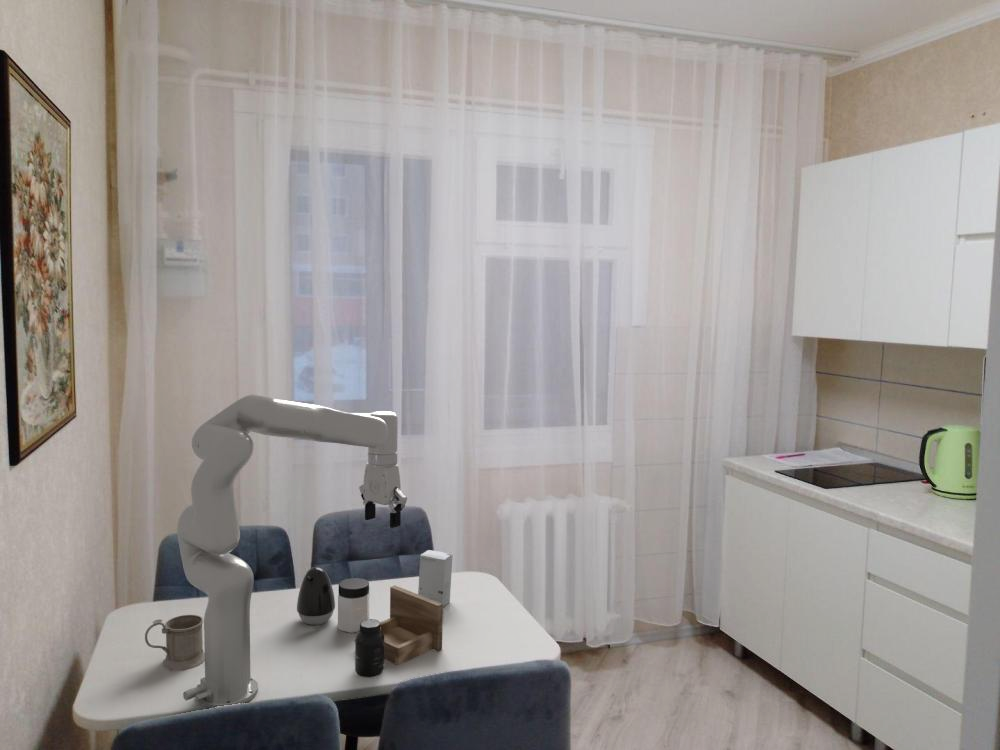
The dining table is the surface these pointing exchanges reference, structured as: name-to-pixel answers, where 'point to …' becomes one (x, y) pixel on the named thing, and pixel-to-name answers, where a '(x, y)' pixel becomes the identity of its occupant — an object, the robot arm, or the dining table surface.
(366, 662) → the supplement bottle
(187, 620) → the mug
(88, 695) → the dining table surface
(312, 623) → the black aroma diffuser
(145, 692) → the dining table surface
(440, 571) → the skincare box
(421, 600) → the brown open boxy piece
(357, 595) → the jar
